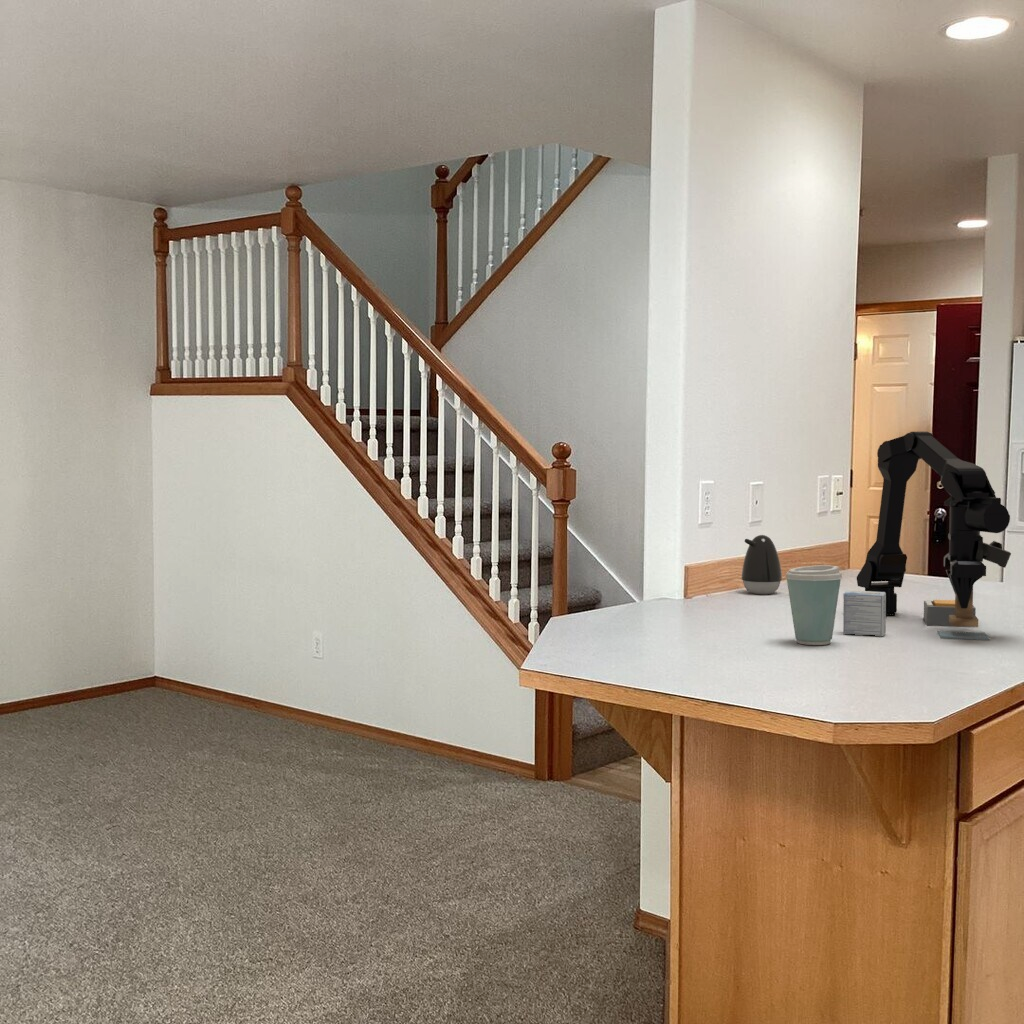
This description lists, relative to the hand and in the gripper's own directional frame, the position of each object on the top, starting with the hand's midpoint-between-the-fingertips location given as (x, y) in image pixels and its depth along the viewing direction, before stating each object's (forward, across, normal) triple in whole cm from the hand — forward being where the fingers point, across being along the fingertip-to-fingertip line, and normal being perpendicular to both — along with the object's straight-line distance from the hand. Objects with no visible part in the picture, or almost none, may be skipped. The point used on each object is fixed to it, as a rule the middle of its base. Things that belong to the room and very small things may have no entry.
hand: (963, 607), depth 235 cm
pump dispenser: (+6, +59, +43) cm, 73 cm away
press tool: (+4, 0, 0) cm, 4 cm away
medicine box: (+6, -2, +19) cm, 20 cm away
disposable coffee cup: (+6, -15, +29) cm, 33 cm away
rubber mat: (+6, 0, 0) cm, 6 cm away
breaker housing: (+6, +18, +1) cm, 19 cm away
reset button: (+5, +18, +1) cm, 19 cm away
